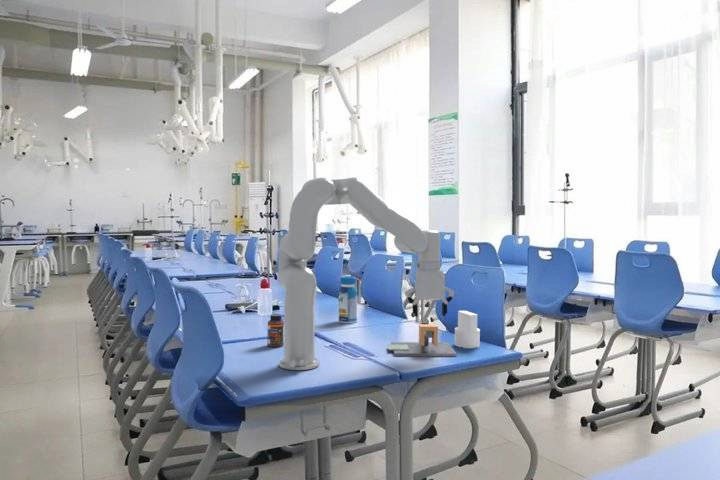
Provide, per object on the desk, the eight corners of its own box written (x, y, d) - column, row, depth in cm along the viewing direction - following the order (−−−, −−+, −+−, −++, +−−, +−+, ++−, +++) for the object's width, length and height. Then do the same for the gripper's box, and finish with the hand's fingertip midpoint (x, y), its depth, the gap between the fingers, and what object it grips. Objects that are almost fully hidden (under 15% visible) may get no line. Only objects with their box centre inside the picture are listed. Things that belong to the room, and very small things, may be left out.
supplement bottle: (268, 348, 197) (268, 316, 196) (266, 344, 202) (266, 313, 202) (285, 347, 198) (285, 315, 198) (282, 343, 204) (282, 312, 204)
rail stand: (456, 356, 186) (456, 330, 186) (390, 356, 186) (390, 329, 186) (448, 345, 202) (448, 320, 202) (386, 345, 202) (387, 320, 202)
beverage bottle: (357, 323, 240) (357, 278, 240) (337, 323, 241) (337, 278, 240) (357, 320, 249) (357, 276, 248) (338, 319, 249) (339, 275, 248)
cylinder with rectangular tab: (450, 343, 205) (450, 311, 205) (471, 341, 208) (471, 310, 208) (462, 349, 197) (463, 315, 196) (484, 347, 200) (485, 314, 199)
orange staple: (437, 345, 189) (437, 326, 188) (420, 345, 189) (420, 326, 188) (435, 343, 193) (436, 324, 192) (418, 343, 193) (418, 324, 192)
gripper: (405, 267, 186) (405, 318, 187) (456, 267, 186) (456, 317, 187) (403, 265, 193) (403, 314, 194) (452, 264, 193) (452, 313, 194)
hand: (429, 315), depth 190 cm, fingers open, 9 cm apart
